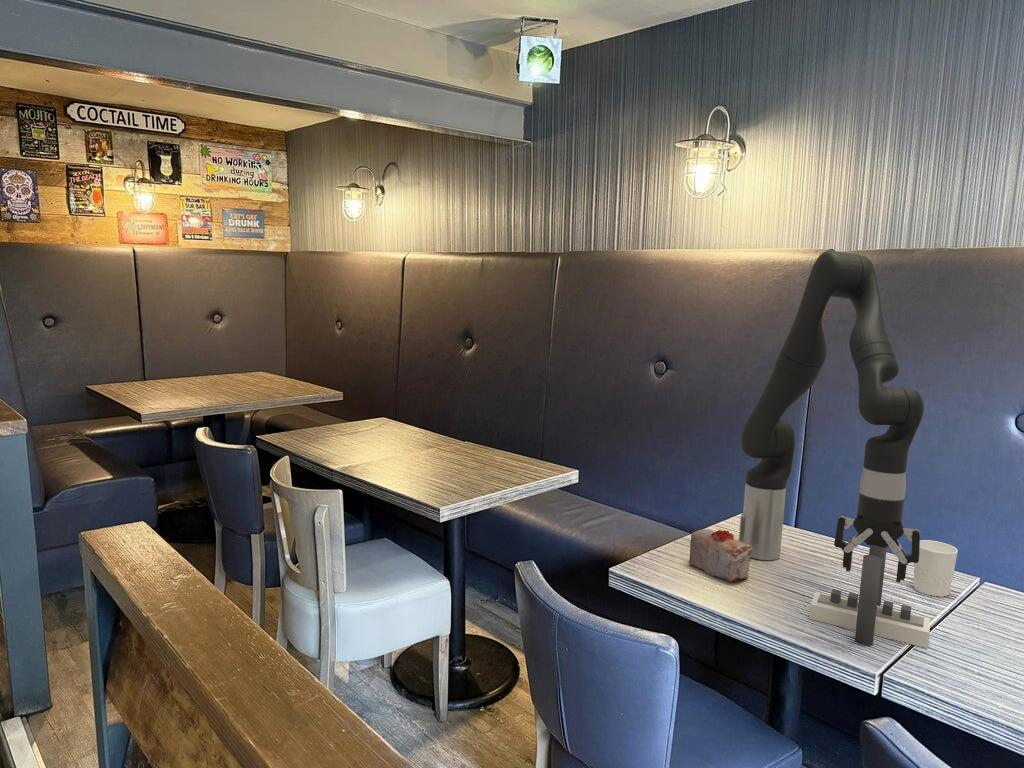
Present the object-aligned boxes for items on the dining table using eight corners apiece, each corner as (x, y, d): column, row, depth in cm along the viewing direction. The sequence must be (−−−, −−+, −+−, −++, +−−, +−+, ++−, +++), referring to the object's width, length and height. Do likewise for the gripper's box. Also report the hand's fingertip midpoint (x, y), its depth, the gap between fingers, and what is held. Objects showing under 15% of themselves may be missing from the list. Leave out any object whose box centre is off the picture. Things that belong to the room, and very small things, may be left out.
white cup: (910, 593, 152) (915, 548, 151) (909, 580, 159) (914, 537, 158) (953, 601, 149) (959, 555, 147) (950, 588, 155) (956, 544, 154)
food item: (755, 579, 157) (758, 536, 156) (733, 587, 152) (736, 543, 151) (705, 559, 168) (708, 519, 166) (683, 566, 163) (685, 525, 162)
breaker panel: (809, 618, 138) (811, 592, 138) (814, 605, 144) (817, 580, 143) (927, 648, 128) (930, 620, 127) (928, 633, 134) (931, 606, 133)
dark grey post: (853, 642, 129) (862, 558, 127) (855, 636, 132) (864, 553, 130) (872, 647, 128) (881, 562, 126) (873, 640, 130) (882, 557, 128)
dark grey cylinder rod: (862, 612, 142) (870, 535, 140) (863, 606, 144) (871, 531, 142) (879, 616, 140) (887, 538, 138) (880, 610, 143) (888, 534, 141)
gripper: (837, 490, 133) (829, 573, 135) (925, 504, 126) (915, 591, 128) (842, 482, 139) (835, 561, 142) (926, 495, 132) (916, 578, 134)
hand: (873, 575), depth 135 cm, fingers open, 8 cm apart
